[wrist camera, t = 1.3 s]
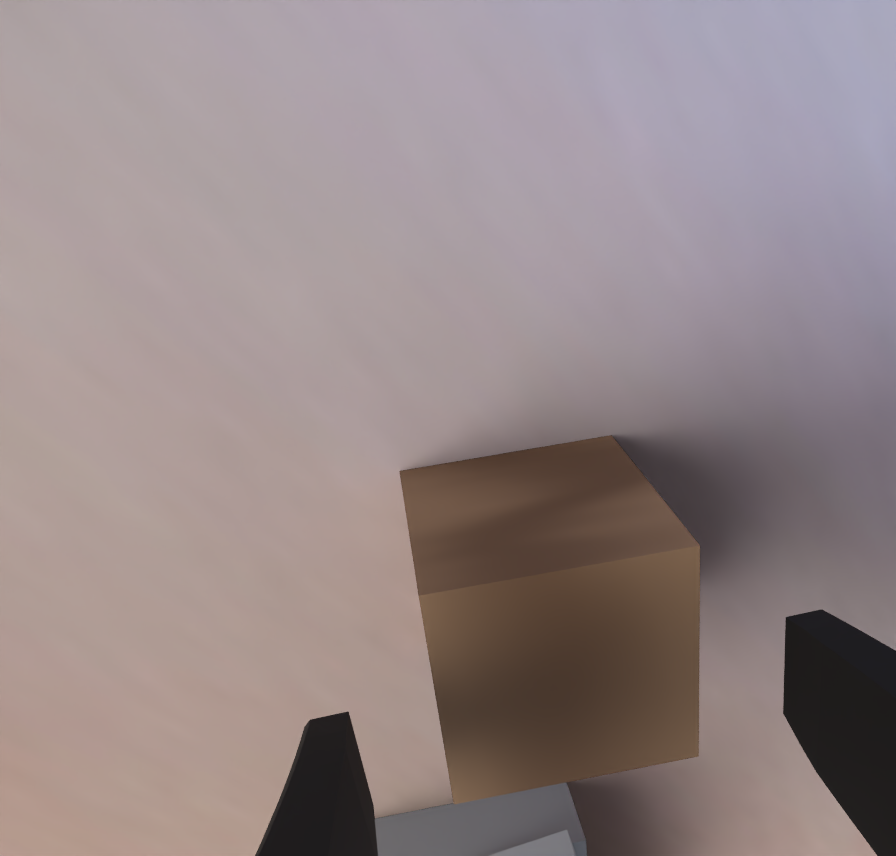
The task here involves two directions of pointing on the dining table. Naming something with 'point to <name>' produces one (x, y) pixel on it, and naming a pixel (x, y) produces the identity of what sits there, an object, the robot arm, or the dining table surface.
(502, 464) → the walnut cube
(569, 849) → the tower top
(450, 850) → the tower base
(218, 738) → the dining table surface
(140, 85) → the dining table surface
